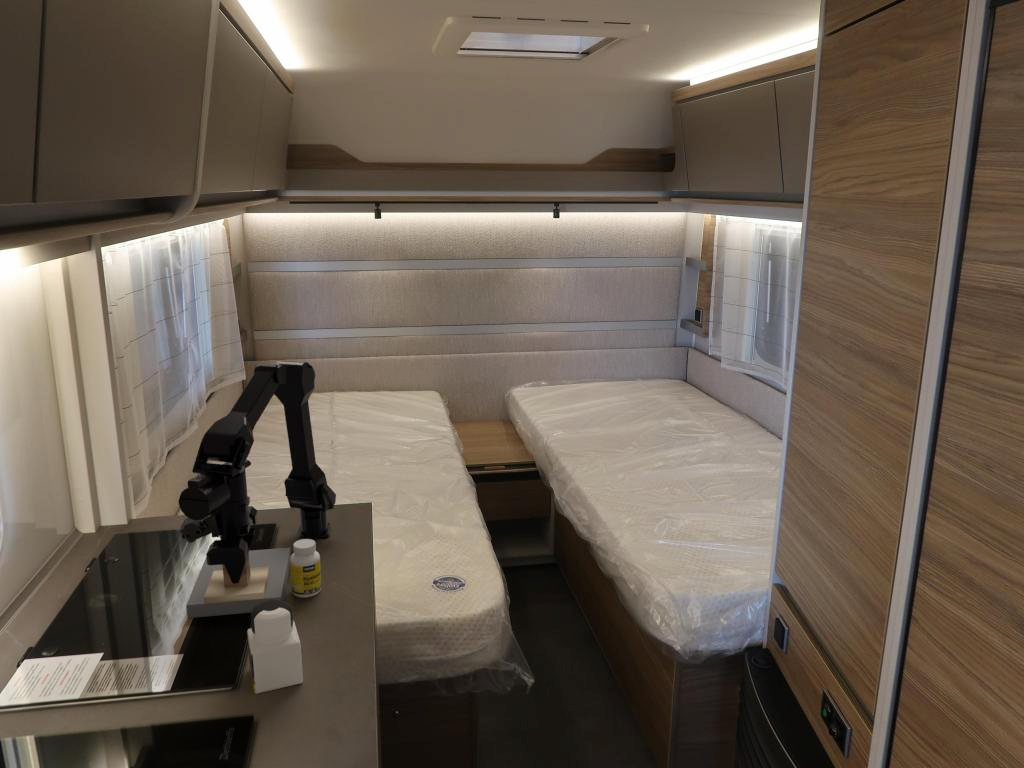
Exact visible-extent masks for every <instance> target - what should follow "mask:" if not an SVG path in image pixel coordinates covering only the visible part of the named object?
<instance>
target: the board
mask: <svg viewBox="0 0 1024 768" xmlns="http://www.w3.org/2000/svg"><path fill="white" fill-rule="evenodd" d="M291 555H292V551H291V547H283V548H282V547H280V548H279V547H278V548H267V549H255V550H253V549H252V550H249V561H250V568H255V567H267V566H269V570H270V573H269V577H268V582H267V586H266V590H265V595H264V599H254V600H242V601H230V602H219V603H207V604H204V595H205V593H206V590H207V588H208V585H209V582H210V580H211V577H212V574H213V572H214V571H217V570H223V566H222V565H208V564H207V557H206V556H205V558H204V562H203V564H202V565H201V569H200V571H199V574H198V576H197V578H196V580H195V583H194V585H193V588H192V591H191V593H190V595H189V598H188V599H187V602H186V605H185V607H186V614H187V615H186V616H187V619H193V618H204V617H205V618H206V617H215V616H225V615H226V616H227V615H238V614H248V613H249V614H251V611H252V610H253V609H254V607H256V606H257V605H258V604H260V603H263V602H266V601H270V600H282V601H285V597H286V590H287V589H286V588H287V584H288V579H289V575H290V569H291V568H290V557H291Z"/></svg>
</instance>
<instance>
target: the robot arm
mask: <svg viewBox="0 0 1024 768" xmlns="http://www.w3.org/2000/svg"><path fill="white" fill-rule="evenodd" d="M315 379H316V372H315V369H314V367H313V365H311V364H310V363H309V362H306V361H295V360H294V361H293V360H277V361H276V362H275V363H270V362H261V363H259V364H256V365H255V368H254V370H253V375H252V377H251V378H250V380H249V382H248V383H247V384H246V386H245V388H244V390H243V391H242V392H241V394H240V395H239V397H238V399H237V400H236V402H235V404H234V405H233V407H232V408H231V410H230V411H229V412H228V413H227V415H225V416H224V417H221V418H220V419H218V420H216V421H214V423H213V424H212V425H211V426H210V427H209V428H208V429H207V430H206V432H205V433H204V435H203V437H202V439H201V441H200V444H199V448H198V450H197V453H196V457H195V461H194V464H193V467H192V473H193V474H199V475H198V476H195V477H193V478H192V477H191V478H190V479H188V481H187V488H185V489H183V490H182V491H181V493H180V495H179V498H178V506H179V509H180V511H181V512H182V514H183V515H185V517H186V518H185V519H184V520H183V522H182V523H181V525H180V526H179V527H180V533H181V536H180V537H181V538H182V540H186V542H187V543H188V544H192V543H195V541H197V540H200V539H201V538H204V537H207V536H209V535H210V534H211V538H220V539H218V540H217V539H216V540H215V539H214V540H213V542H212V543H211V544H209V546H208V549H207V551H206V554H205V558H206V557H207V564H208V565H223V564H224V565H225V567H226V570H227V572H228V574H229V577H230V579H231V581H232V583H233V584H236V583H239V581H240V577H241V574H242V571H243V568H244V565H245V562H246V559H247V556H248V553H249V551H251V550H250V548H251V545H252V542H253V539H254V535H255V532H256V528H254V527H251V526H253V525H254V526H256V525H257V524H258V522H259V521H258V520H259V515H258V510H257V509H256V508H255V507H254V506H252V505H250V503H251V499H250V498H251V497H250V496H249V495H248V488H247V486H248V485H247V474H246V473H247V472H246V469H247V468H249V467H250V466H251V465H252V462H251V461H250V460H248V456H249V455H250V453H251V450H252V447H253V445H254V442H255V439H254V432H253V431H254V429H255V427H256V425H257V423H258V421H259V420H260V418H261V417H262V414H264V411H265V409H266V408H267V406H268V404H269V403H270V401H271V399H272V398H273V396H275V397H276V398H277V399H278V401H279V402H280V403H281V404H282V405H283V410H284V418H285V424H286V426H285V427H286V432H287V439H288V445H289V454H290V461H291V471H290V472H289V474H288V476H287V478H286V479H285V480H284V482H283V483H284V488H285V497H286V498H287V501H288V505H289V508H290V509H299V518H300V519H299V520H300V521H299V522H300V525H299V529H298V535H297V538H298V540H302V539H317V538H318V539H319V538H329V537H330V530H331V523H330V522H328V511H329V510H333V509H334V508H335V504H336V502H337V494H336V493H335V492H334V490H333V489H332V488H331V487H330V486H329V485H328V481H327V477H326V474H325V472H324V471H323V469H322V468H320V466H319V465H318V464H317V462H316V461H317V460H316V455H315V446H314V438H313V429H312V421H311V413H310V406H309V405H310V404H309V400H310V398H311V395H312V394H313V392H314V390H315ZM208 461H210V462H208ZM212 462H217V463H212ZM218 462H220V463H221V464H220V463H218Z"/></svg>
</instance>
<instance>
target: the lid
mask: <svg viewBox="0 0 1024 768" xmlns="http://www.w3.org/2000/svg"><path fill="white" fill-rule="evenodd" d="M222 566H223V570H217V571H214V572H213V574H212V577H211V580H210V582H209V585H208V588H207V590H206V593H205V595H204V604H207V603H219V602H230V601H242V600H254V599H264V595H265V590H266V586H267V582H268V577H269V573H270V570H269V566H267V567H255V568H250V561H249V553H248V556H247V559H246V562H245V565H244V568H243V571H242V574H241V577H240V581H239V583H236V584H233V583H232V581H231V579H230V577H229V574H228V572H227V570H226V567H225V565H224V564H223V565H222Z"/></svg>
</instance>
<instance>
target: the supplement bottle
mask: <svg viewBox="0 0 1024 768" xmlns="http://www.w3.org/2000/svg"><path fill="white" fill-rule="evenodd" d="M292 548H293V553H291V557H290V568H289V569H290V582H291V583H290V584H291V585H290V586H291V592H292V595H293V596H295V597H297V598H303V599H304V598H311V597H314V596H316V595H318V594H319V593H320V592H321V591H322V573H321V572H322V571H321V556H320V555H321V554H320V553H319V552H318V551H317V550H316V541H315V540H313V539H312V538H306V539H298V540H296V541H295V542H294V543H293V546H292Z"/></svg>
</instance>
